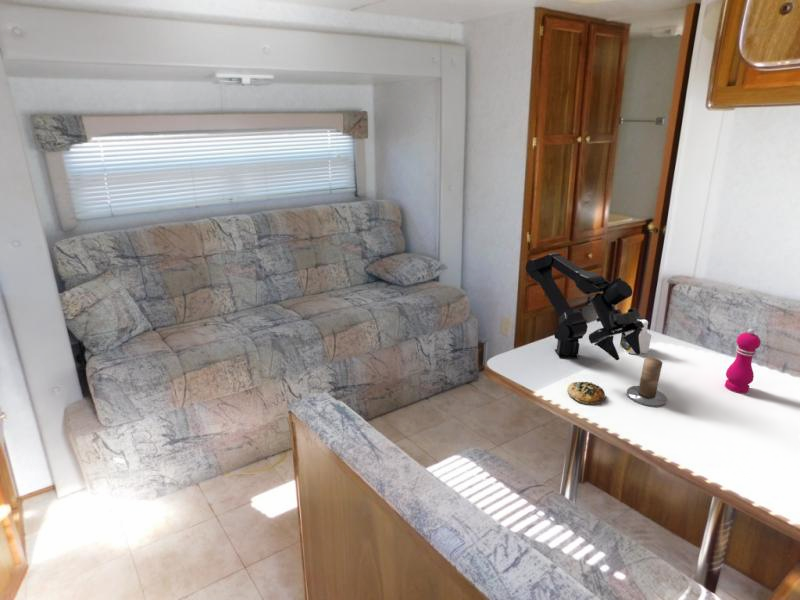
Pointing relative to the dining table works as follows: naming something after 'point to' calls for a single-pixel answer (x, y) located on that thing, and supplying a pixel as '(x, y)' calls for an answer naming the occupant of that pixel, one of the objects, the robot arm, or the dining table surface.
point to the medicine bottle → (643, 339)
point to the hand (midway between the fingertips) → (628, 357)
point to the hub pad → (655, 402)
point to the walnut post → (650, 378)
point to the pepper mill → (742, 363)
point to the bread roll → (586, 392)
